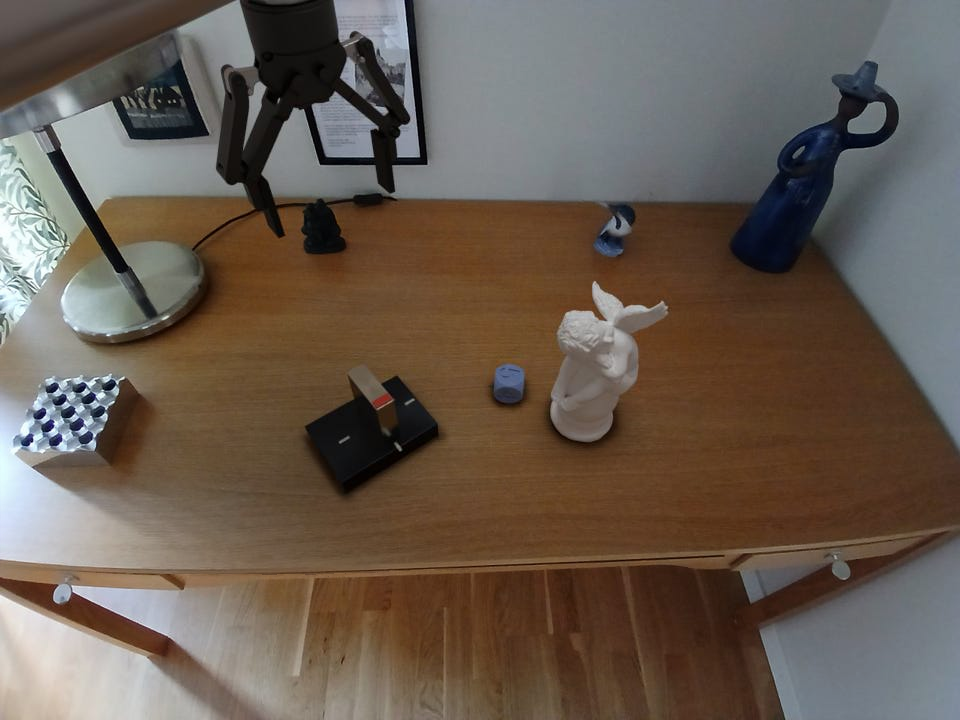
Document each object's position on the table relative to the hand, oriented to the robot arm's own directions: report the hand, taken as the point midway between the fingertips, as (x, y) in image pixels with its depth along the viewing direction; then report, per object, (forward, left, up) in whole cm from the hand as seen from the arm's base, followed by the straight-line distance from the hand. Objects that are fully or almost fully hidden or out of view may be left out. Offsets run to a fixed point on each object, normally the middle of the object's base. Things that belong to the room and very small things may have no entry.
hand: (334, 208), depth 62 cm
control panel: (-6, -12, -27) cm, 30 cm away
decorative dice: (+13, -17, -27) cm, 34 cm away
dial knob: (-5, -12, -24) cm, 27 cm away
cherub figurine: (+20, -25, -27) cm, 42 cm away
